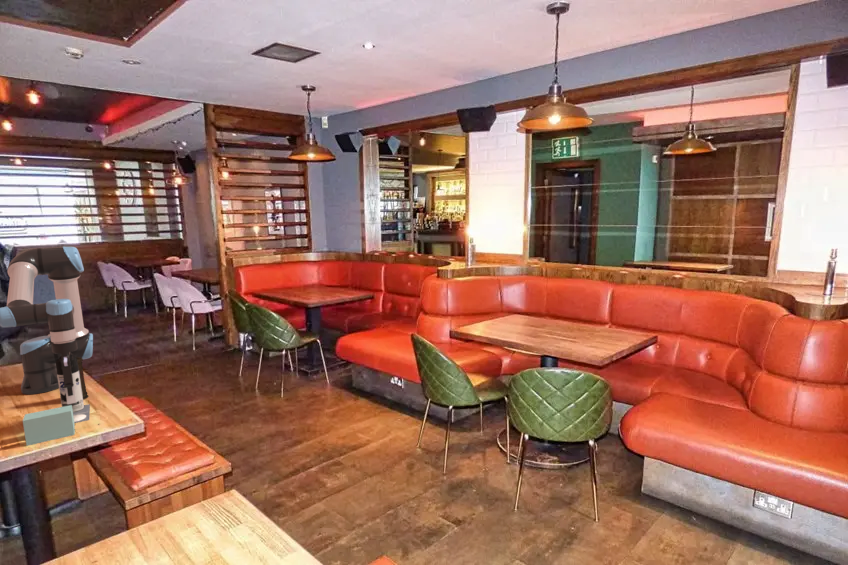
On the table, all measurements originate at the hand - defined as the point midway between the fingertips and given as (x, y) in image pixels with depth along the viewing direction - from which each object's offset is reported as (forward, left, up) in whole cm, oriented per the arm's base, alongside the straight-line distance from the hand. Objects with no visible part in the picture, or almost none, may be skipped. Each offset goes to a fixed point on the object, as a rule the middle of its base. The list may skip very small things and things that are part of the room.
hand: (72, 400), depth 179 cm
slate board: (-5, -4, -9) cm, 11 cm away
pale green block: (+10, -7, -9) cm, 15 cm away
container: (-25, -1, -9) cm, 27 cm away
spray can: (0, 0, -4) cm, 4 cm away
